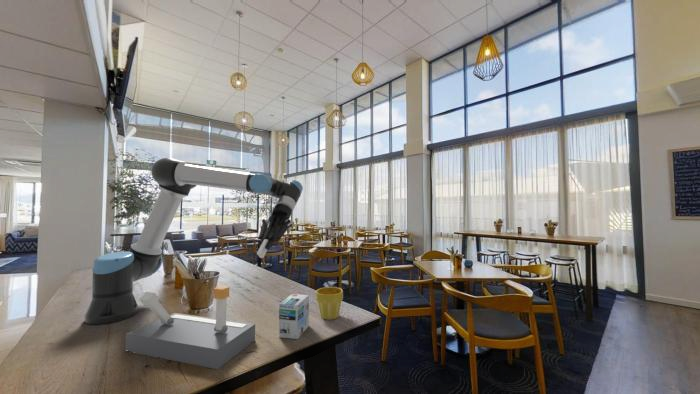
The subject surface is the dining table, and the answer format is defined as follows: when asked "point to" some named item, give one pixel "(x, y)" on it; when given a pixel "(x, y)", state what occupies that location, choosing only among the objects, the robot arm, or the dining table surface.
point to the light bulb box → (293, 316)
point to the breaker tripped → (221, 308)
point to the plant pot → (329, 301)
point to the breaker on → (156, 307)
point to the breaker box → (191, 340)
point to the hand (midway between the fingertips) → (260, 255)
